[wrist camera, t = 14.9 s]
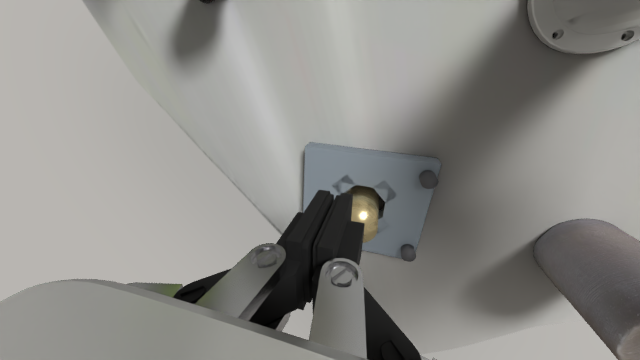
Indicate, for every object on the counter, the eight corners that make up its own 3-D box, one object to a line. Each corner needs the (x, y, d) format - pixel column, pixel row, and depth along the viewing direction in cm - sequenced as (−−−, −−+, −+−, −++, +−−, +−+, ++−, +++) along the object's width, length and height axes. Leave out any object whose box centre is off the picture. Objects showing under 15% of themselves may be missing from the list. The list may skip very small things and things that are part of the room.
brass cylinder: (381, 186, 35) (381, 214, 28) (376, 214, 37) (373, 246, 30) (349, 181, 36) (340, 206, 29) (345, 208, 38) (336, 238, 31)
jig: (437, 158, 31) (444, 168, 27) (411, 250, 38) (413, 268, 34) (310, 142, 35) (301, 149, 31) (306, 228, 41) (299, 242, 38)
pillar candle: (627, 271, 30) (816, 417, 17) (536, 280, 34) (634, 407, 21) (622, 209, 28) (839, 324, 15) (525, 226, 32) (628, 331, 18)
